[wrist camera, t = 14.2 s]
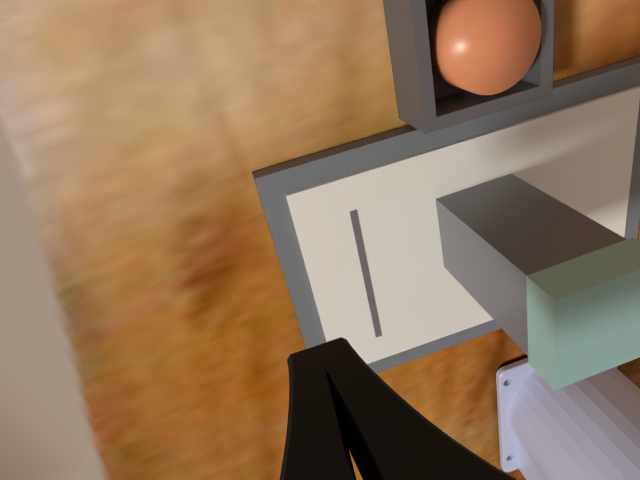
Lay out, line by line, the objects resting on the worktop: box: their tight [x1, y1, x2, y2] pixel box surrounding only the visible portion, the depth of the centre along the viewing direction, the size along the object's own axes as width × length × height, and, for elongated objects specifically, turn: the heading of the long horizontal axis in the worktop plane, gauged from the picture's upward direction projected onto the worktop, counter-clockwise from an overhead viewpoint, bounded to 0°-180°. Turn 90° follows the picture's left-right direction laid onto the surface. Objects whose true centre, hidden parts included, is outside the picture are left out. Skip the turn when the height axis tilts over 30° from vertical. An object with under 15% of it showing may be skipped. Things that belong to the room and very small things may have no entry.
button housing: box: [383, 0, 554, 134], centre depth 18 cm, size 5×5×2 cm
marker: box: [436, 174, 640, 391], centre depth 19 cm, size 4×4×8 cm
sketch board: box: [252, 56, 640, 373], centre depth 23 cm, size 12×18×1 cm, turn 102°
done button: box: [427, 0, 541, 95], centre depth 17 cm, size 3×3×2 cm
